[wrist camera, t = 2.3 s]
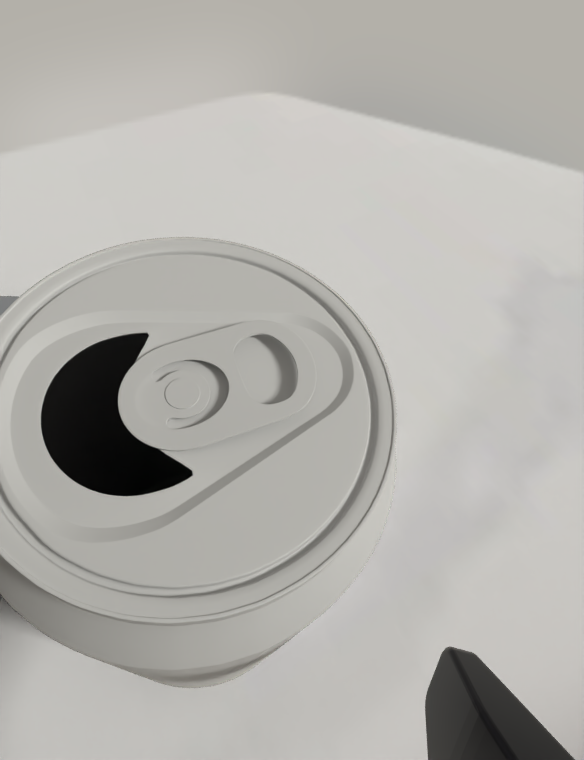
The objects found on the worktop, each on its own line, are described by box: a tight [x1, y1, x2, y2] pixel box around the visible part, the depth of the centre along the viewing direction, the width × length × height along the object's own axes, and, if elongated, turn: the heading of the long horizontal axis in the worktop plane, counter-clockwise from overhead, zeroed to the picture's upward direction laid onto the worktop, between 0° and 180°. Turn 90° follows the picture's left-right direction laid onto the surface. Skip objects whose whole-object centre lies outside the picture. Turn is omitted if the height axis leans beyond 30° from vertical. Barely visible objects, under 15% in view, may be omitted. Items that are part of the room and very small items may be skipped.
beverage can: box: [0, 237, 397, 688], centre depth 12 cm, size 6×6×12 cm
